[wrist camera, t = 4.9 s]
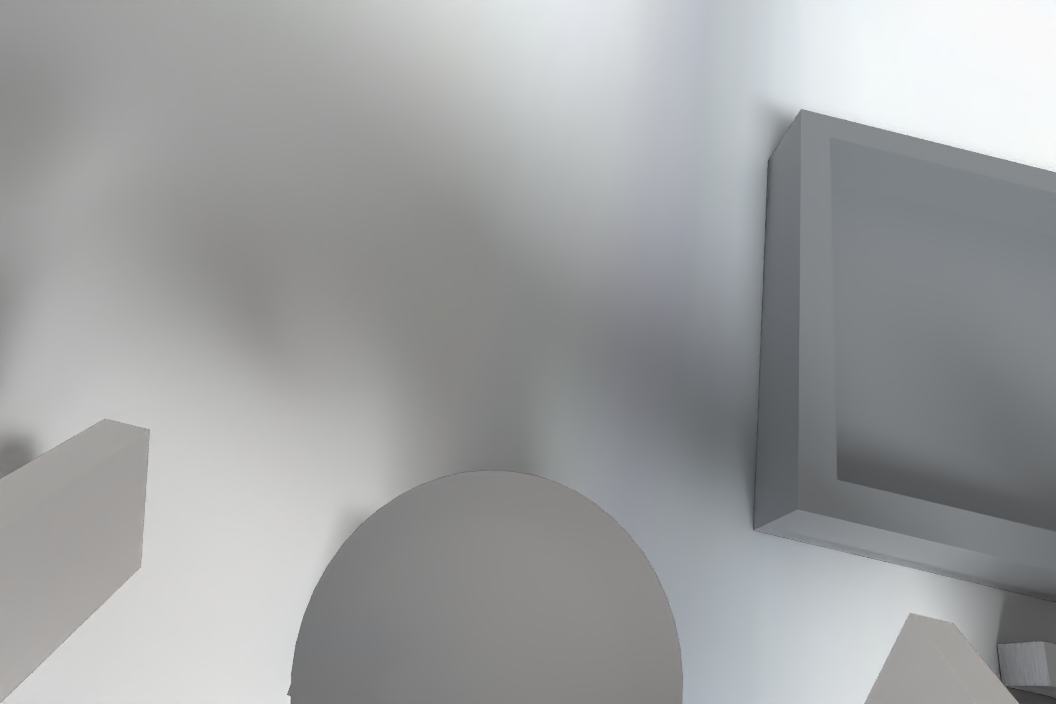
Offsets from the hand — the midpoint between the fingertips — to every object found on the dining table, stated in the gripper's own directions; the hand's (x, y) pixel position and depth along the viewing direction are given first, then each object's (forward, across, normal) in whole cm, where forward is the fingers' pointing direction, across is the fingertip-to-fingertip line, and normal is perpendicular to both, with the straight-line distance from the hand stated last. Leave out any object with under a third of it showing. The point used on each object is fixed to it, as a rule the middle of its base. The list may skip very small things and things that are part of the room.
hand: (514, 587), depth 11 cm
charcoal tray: (+12, +14, +4) cm, 18 cm away
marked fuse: (+3, 0, -5) cm, 6 cm away
